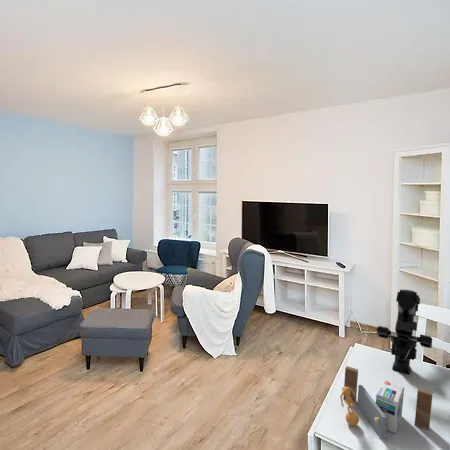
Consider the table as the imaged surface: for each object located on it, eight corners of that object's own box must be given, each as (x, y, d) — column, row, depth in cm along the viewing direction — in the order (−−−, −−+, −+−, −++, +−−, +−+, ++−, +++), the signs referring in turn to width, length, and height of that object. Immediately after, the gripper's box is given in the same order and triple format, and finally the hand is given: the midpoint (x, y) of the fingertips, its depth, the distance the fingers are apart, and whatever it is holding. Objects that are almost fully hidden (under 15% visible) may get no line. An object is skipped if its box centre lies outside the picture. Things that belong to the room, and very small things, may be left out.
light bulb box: (396, 434, 102) (398, 402, 100) (373, 424, 106) (375, 394, 104) (402, 415, 110) (404, 386, 109) (380, 407, 114) (383, 378, 113)
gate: (360, 403, 115) (361, 384, 114) (384, 438, 99) (386, 417, 99) (354, 403, 115) (355, 384, 114) (377, 438, 99) (379, 417, 98)
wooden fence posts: (344, 396, 120) (346, 365, 118) (429, 426, 105) (432, 392, 104) (343, 399, 118) (345, 368, 117) (428, 430, 103) (432, 395, 102)
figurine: (350, 433, 102) (352, 398, 100) (333, 422, 106) (335, 388, 105) (364, 422, 107) (366, 388, 105) (347, 412, 111) (349, 379, 110)
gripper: (378, 307, 129) (372, 345, 122) (433, 316, 119) (431, 359, 112) (380, 317, 137) (375, 354, 130) (432, 327, 127) (430, 368, 119)
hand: (401, 358), depth 122 cm, fingers closed
